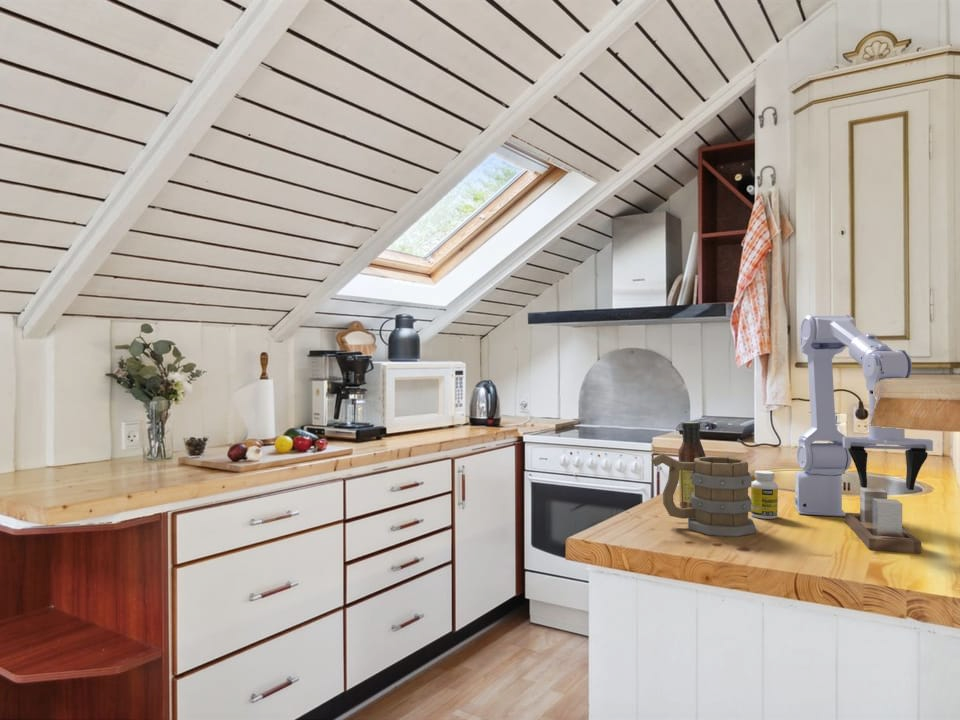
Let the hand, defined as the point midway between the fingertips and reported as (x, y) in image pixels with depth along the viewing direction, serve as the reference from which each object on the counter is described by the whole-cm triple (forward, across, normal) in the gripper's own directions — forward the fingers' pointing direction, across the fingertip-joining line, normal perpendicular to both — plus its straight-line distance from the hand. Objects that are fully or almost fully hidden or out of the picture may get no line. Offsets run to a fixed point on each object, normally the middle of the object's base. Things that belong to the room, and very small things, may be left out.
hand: (886, 487), depth 131 cm
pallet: (+10, 0, +6) cm, 12 cm away
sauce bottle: (+11, -35, +21) cm, 42 cm away
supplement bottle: (+11, -20, +17) cm, 28 cm away
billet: (+10, 0, 0) cm, 10 cm away
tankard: (+11, -33, +3) cm, 35 cm away
